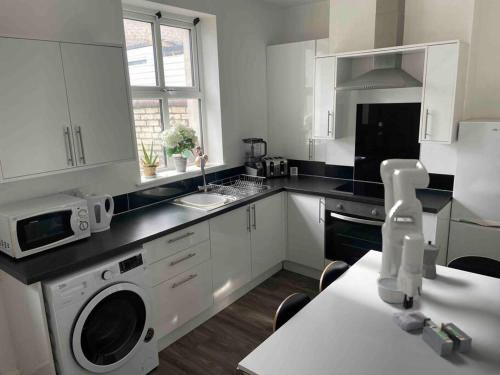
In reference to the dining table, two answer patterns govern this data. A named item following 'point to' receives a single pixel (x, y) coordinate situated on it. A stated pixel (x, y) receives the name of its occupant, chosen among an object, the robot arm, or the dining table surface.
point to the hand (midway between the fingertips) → (407, 307)
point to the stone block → (409, 319)
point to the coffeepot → (430, 260)
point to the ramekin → (389, 290)
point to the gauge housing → (446, 339)
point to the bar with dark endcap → (428, 323)
